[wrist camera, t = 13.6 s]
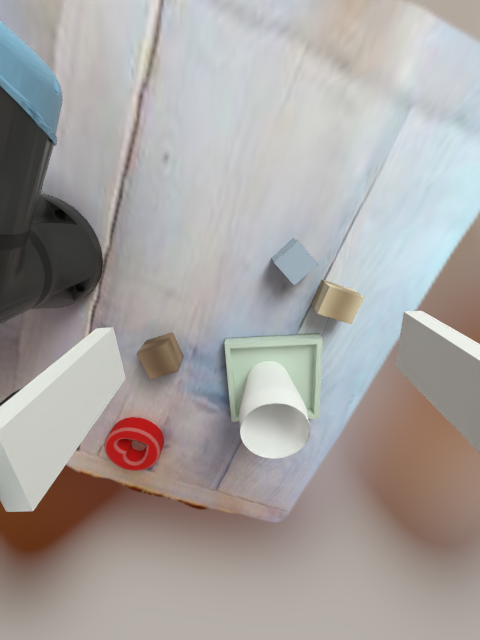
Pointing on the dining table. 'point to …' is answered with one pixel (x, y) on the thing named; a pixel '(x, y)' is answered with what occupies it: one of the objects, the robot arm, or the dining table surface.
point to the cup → (272, 413)
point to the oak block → (337, 301)
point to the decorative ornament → (122, 448)
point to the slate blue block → (294, 261)
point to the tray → (287, 350)
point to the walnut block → (161, 356)
